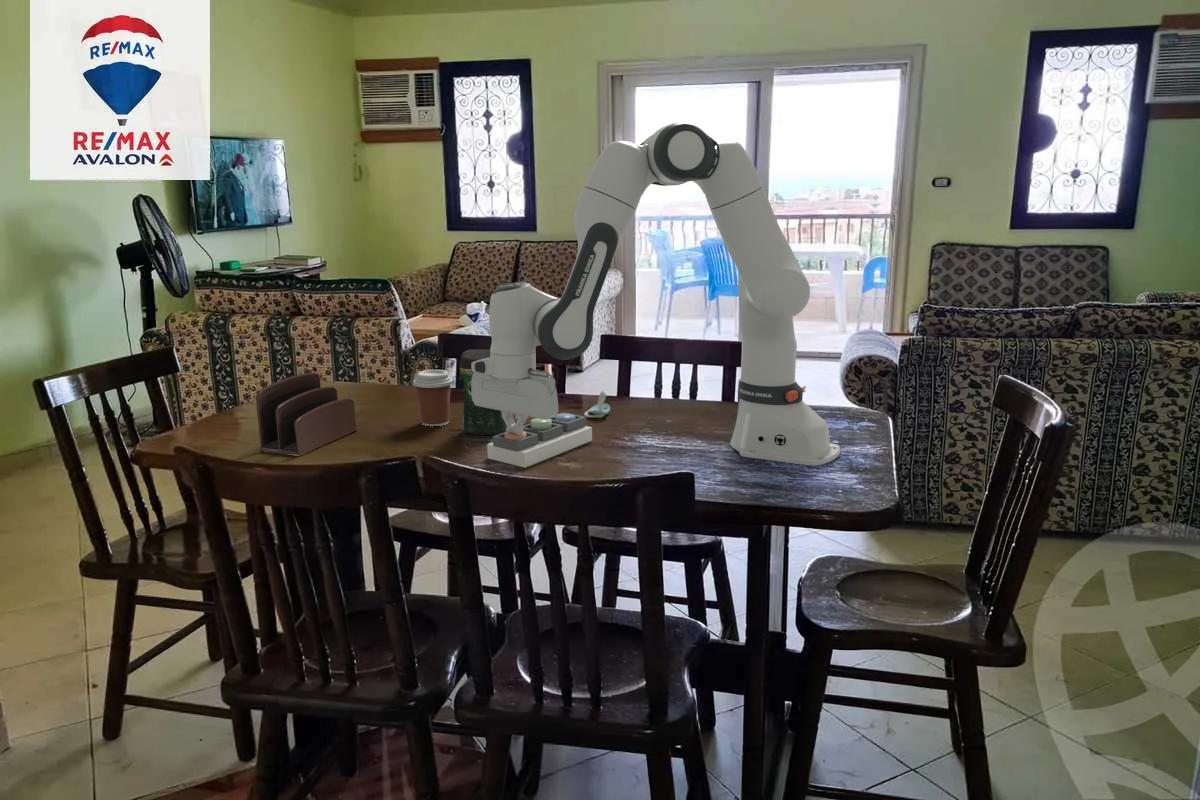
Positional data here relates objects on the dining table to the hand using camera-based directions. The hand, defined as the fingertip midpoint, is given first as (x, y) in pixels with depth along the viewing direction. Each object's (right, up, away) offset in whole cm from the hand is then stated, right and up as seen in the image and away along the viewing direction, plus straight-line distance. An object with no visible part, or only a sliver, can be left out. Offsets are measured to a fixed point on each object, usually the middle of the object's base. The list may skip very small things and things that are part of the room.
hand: (515, 433), depth 168 cm
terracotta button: (0, -2, 0) cm, 2 cm away
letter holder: (-46, -3, +14) cm, 48 cm away
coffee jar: (-9, -1, +21) cm, 23 cm away
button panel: (+5, -4, +8) cm, 10 cm away
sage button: (+5, +1, +6) cm, 8 cm away
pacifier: (+16, +3, +34) cm, 37 cm away
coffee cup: (-21, +1, +27) cm, 35 cm away
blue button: (+9, +2, +13) cm, 16 cm away
